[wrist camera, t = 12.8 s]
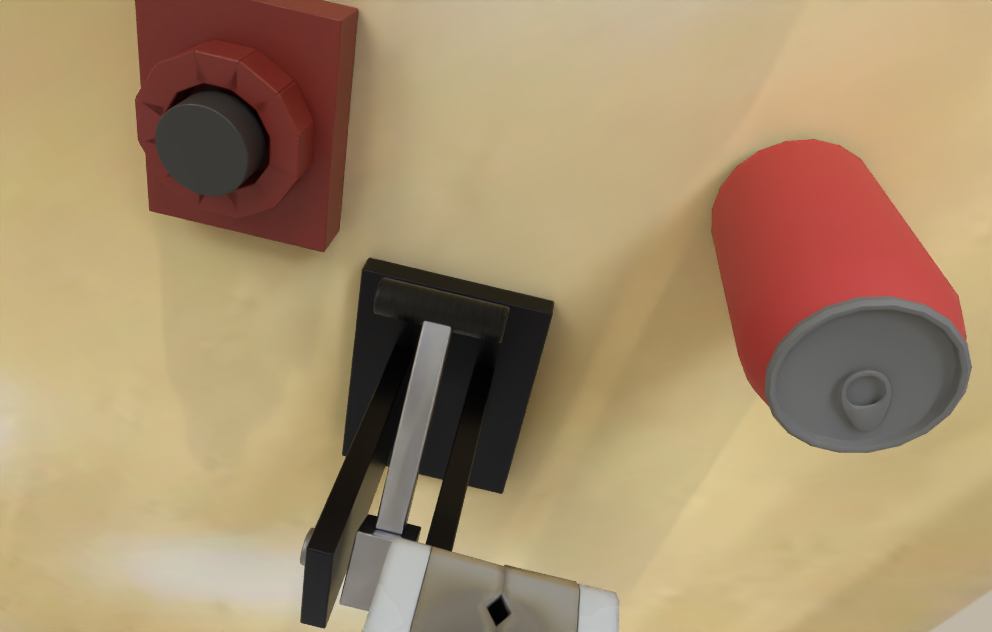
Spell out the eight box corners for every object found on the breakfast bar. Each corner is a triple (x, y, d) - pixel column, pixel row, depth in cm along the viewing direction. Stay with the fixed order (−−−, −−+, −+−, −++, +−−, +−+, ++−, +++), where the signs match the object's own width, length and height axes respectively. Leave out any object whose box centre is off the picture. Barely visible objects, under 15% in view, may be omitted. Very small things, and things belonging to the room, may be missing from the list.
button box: (162, -38, 30) (105, -21, 27) (358, 8, 30) (326, 31, 27) (173, 191, 36) (126, 228, 33) (339, 230, 36) (310, 272, 33)
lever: (387, 278, 31) (377, 275, 28) (509, 307, 31) (509, 306, 28) (318, 573, 31) (301, 595, 28) (439, 602, 31) (434, 627, 28)
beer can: (720, 289, 35) (759, 478, 25) (698, 153, 32) (734, 306, 22) (877, 263, 33) (989, 455, 23) (872, 116, 30) (998, 264, 20)
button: (175, 80, 29) (151, 93, 28) (267, 102, 29) (248, 116, 28) (178, 167, 31) (157, 184, 30) (265, 188, 31) (247, 206, 30)
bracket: (368, 256, 36) (251, 457, 25) (554, 300, 36) (523, 522, 25) (348, 441, 43) (247, 667, 31) (505, 479, 43) (462, 719, 31)
